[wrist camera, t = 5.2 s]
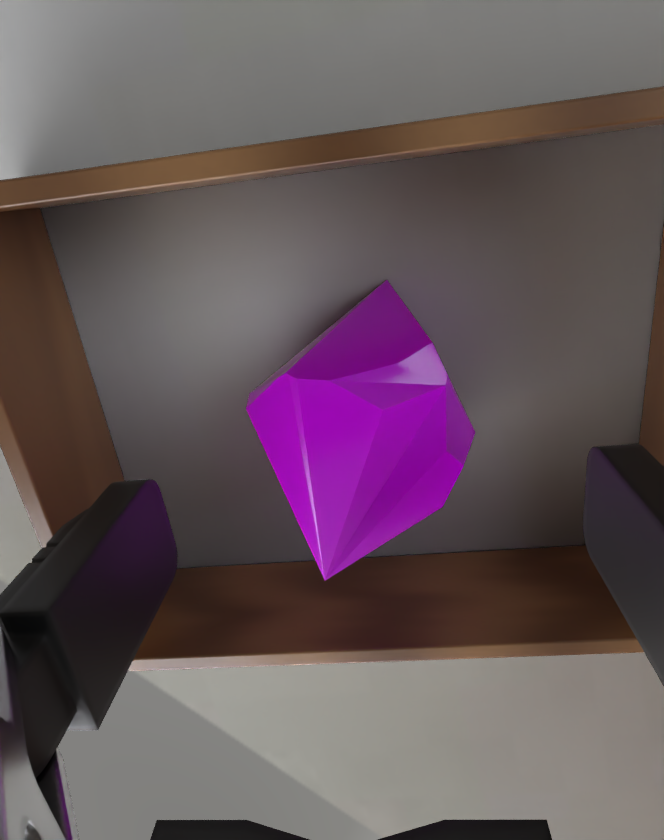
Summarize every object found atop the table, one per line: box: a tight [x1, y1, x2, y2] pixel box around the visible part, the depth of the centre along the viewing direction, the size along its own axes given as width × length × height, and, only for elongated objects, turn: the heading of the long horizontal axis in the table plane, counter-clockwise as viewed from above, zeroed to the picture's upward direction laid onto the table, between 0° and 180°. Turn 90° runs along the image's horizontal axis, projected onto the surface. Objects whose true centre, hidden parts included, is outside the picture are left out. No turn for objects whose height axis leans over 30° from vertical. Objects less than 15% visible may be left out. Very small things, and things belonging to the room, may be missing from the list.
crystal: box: [246, 280, 475, 580], centre depth 14 cm, size 5×5×5 cm
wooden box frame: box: [0, 86, 664, 671], centre depth 14 cm, size 17×13×4 cm
